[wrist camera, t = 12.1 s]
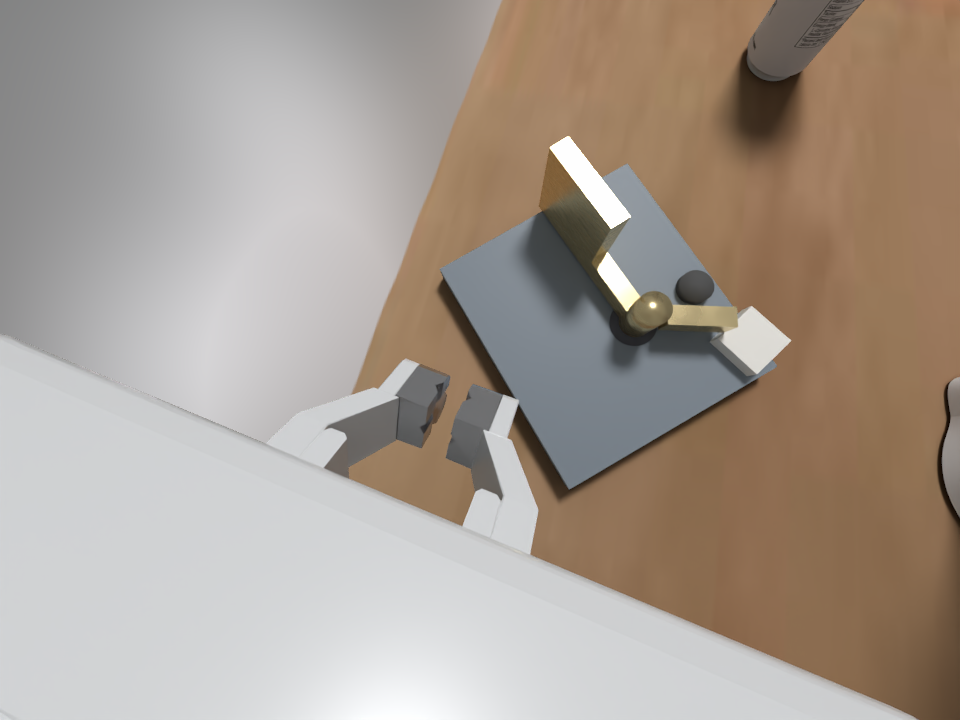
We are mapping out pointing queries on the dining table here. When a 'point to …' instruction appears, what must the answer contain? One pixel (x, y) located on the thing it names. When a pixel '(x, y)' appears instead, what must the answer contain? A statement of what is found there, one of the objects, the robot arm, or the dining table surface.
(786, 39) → the energy drink can
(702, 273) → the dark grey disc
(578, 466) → the lock plate
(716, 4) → the dining table surface
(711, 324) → the key
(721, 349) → the cover
